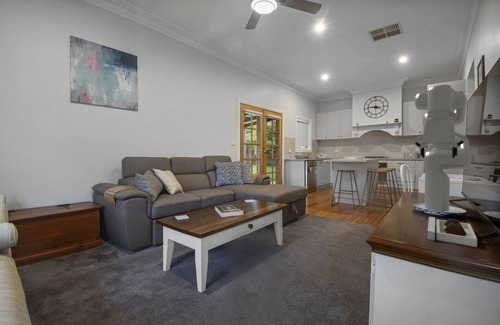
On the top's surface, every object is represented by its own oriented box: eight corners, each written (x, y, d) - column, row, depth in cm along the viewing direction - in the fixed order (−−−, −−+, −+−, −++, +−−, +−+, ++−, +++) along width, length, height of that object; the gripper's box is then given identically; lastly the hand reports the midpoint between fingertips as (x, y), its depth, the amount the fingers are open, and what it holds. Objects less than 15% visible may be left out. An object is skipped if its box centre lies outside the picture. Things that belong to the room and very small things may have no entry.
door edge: (428, 223, 96) (429, 216, 96) (434, 224, 95) (435, 217, 95) (427, 239, 80) (427, 230, 79) (434, 240, 78) (434, 232, 78)
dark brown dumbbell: (454, 232, 89) (457, 243, 77) (440, 224, 91) (441, 233, 80) (464, 221, 87) (470, 230, 75) (449, 212, 89) (452, 220, 78)
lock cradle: (436, 225, 94) (436, 219, 94) (469, 230, 88) (470, 223, 87) (436, 239, 79) (436, 232, 79) (476, 247, 72) (477, 239, 72)
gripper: (466, 114, 90) (465, 157, 91) (413, 119, 101) (413, 157, 102) (468, 112, 84) (467, 158, 85) (412, 117, 96) (411, 157, 96)
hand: (437, 157), depth 94 cm, fingers open, 9 cm apart
